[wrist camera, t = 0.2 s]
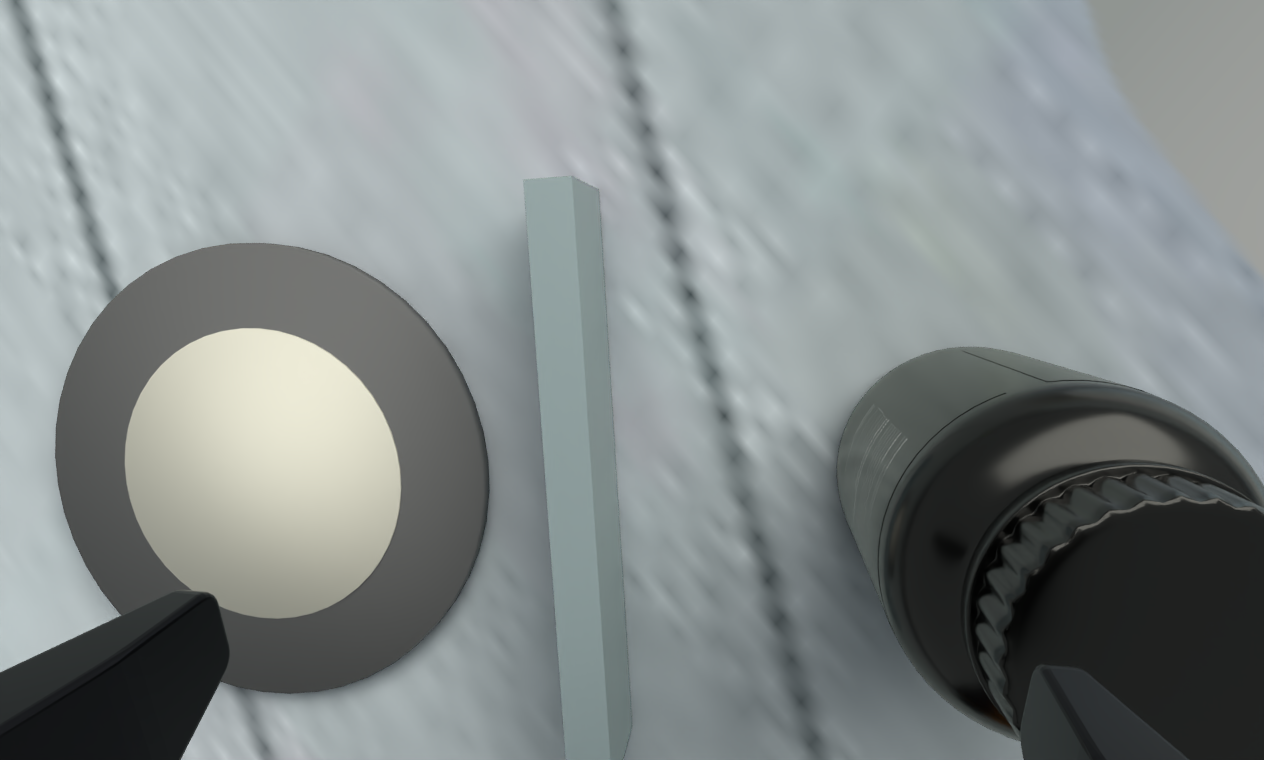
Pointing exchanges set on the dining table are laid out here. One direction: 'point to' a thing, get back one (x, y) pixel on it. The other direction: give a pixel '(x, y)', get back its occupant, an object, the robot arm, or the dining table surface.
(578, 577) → the acrylic wall
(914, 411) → the supplement bottle
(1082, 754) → the robot arm
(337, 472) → the mat
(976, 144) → the dining table surface
